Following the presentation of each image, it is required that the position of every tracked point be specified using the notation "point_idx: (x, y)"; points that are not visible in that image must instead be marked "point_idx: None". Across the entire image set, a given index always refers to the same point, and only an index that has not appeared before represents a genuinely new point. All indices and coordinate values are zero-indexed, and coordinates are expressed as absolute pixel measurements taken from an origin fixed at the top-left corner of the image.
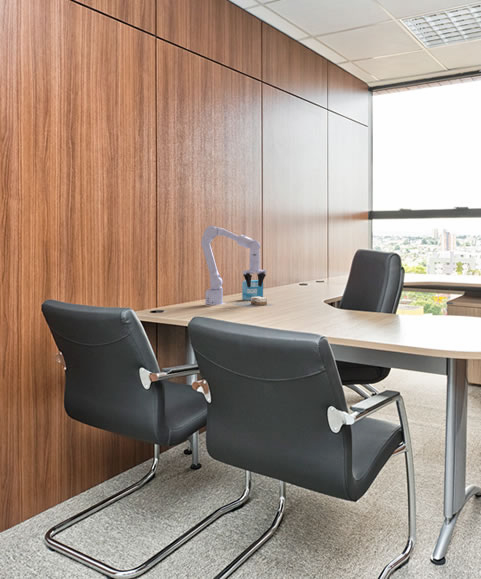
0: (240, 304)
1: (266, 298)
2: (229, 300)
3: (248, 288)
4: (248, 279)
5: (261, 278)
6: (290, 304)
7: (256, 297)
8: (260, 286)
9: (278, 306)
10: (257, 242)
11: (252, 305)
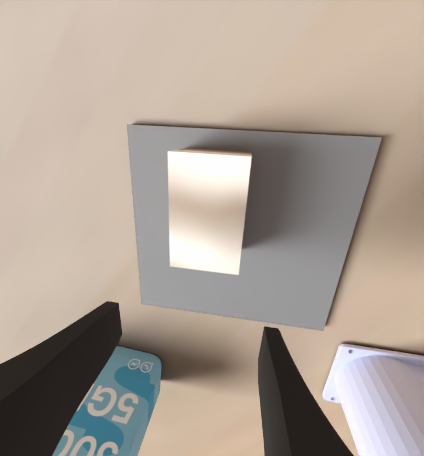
0: (302, 279)
1: (172, 151)
2: (206, 414)
3: (117, 427)
4: (340, 450)
5: (30, 391)
6: (3, 120)
7: (220, 231)
8: (118, 305)
9: (121, 85)
10: None
11: (278, 197)
